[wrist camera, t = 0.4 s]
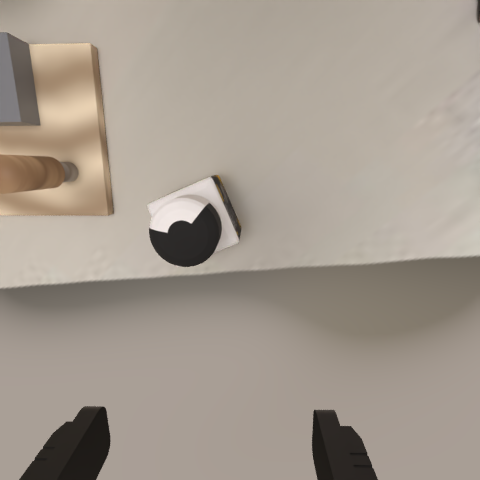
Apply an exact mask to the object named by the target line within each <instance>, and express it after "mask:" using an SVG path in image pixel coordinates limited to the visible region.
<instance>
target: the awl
mask: <svg viewBox="0 0 480 480" xmlns="http://www.w3.org/2000/svg"><path fill="white" fill-rule="evenodd" d="M77 177H78V169H77V167H76V166H75V165H74V164H73V163H71V162H59V161H58V160H57V159H55V158H53V157H49V156H26V155H3V154H0V194H7V193H16V192H25V191H33V190H42V189H50V188H56V187H58V186H60V185H61V184H62V183H63V182H72V181H74V180H76V179H77Z"/></svg>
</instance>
